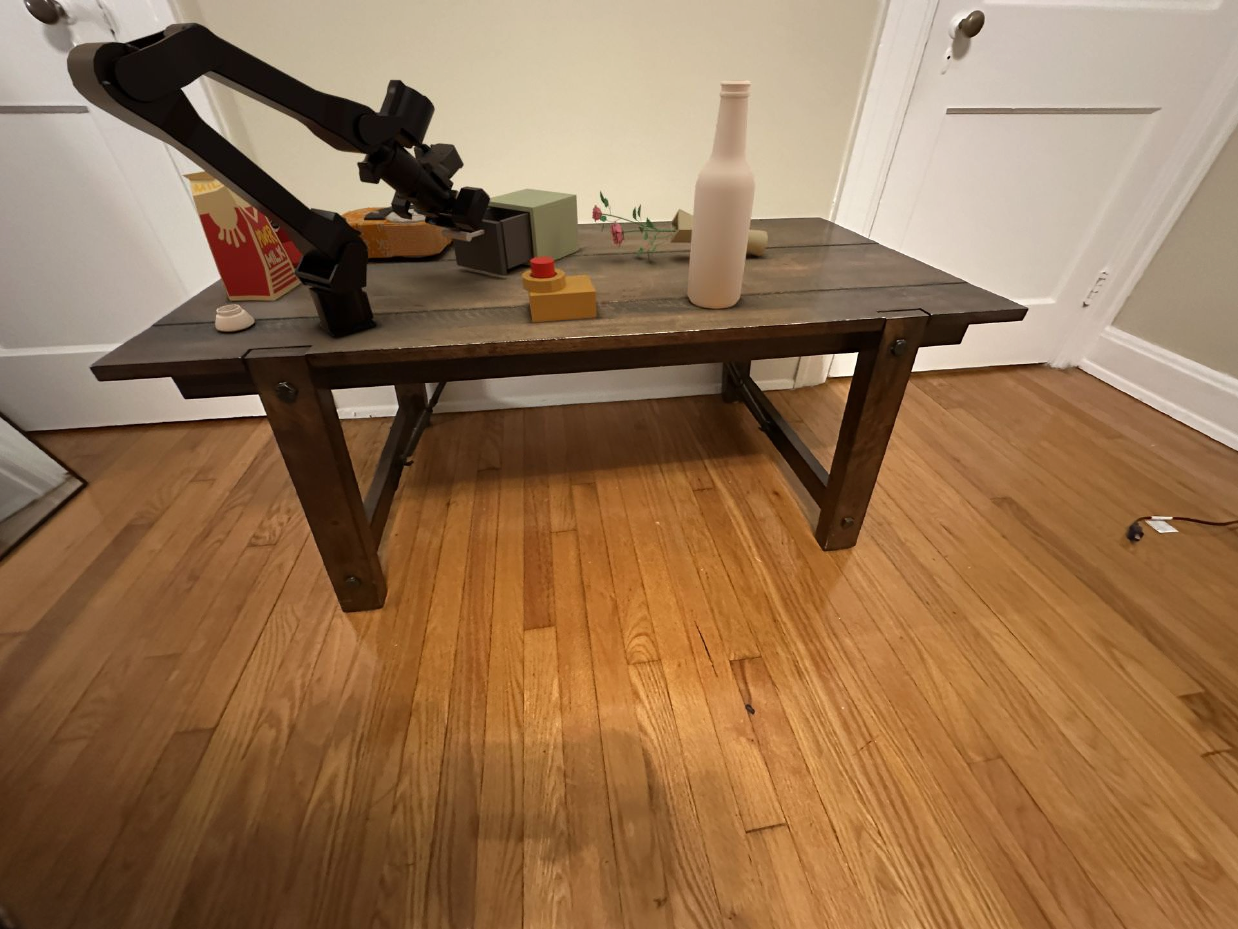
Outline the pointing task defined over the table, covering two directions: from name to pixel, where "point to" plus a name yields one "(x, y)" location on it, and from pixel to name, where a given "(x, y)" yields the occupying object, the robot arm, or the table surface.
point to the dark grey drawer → (495, 241)
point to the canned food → (287, 244)
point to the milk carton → (241, 243)
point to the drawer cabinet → (546, 220)
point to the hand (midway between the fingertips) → (471, 231)
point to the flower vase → (674, 230)
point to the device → (396, 233)
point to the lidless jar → (232, 318)
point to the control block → (560, 297)
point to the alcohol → (723, 207)
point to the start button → (542, 267)
